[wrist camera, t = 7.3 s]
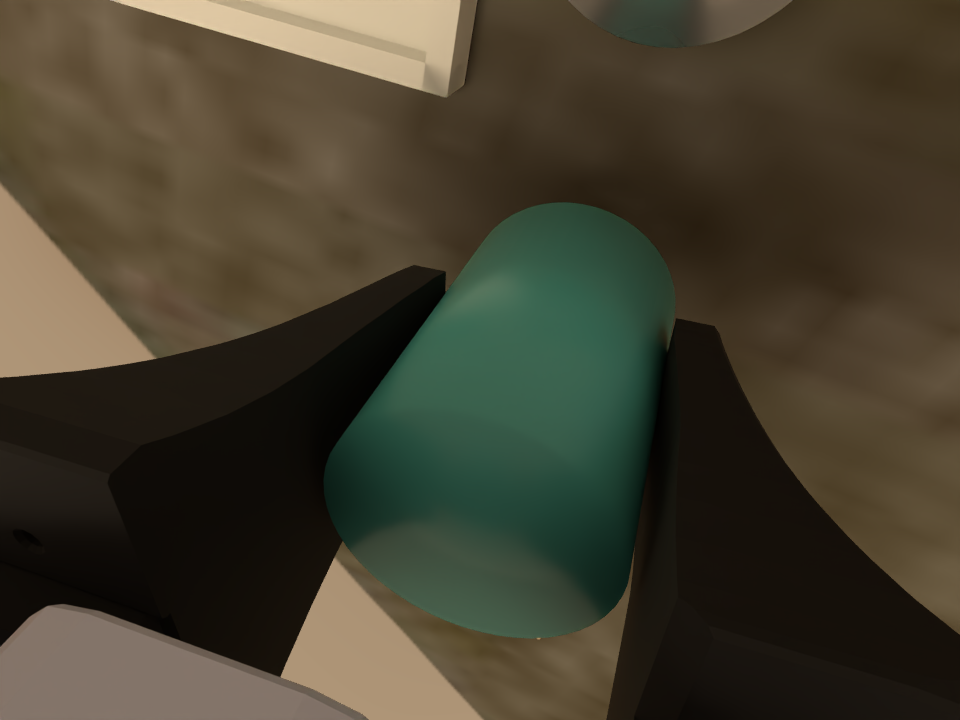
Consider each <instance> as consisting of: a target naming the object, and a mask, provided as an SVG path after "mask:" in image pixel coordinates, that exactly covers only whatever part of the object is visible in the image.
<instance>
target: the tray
mask: <svg viewBox="0 0 960 720" xmlns="http://www.w3.org/2000/svg"><path fill="white" fill-rule="evenodd" d="M111 1H115V2H118V3H121V4H125V5H128V6H132V7H135V8H139V9H142V10H146V11H149V12H153V13H156V14H159V15H163V16H166V17H170V18H173V19H177V20H180V21H184V22H187V23H190V24H194V25H197V26H201V27H204V28H208V29H211V30H215V31H218V32H221V33H225V34H228V35H232V36H235V37H239V38H242V39H246V40H249V41H252V42H256V43H259V44H263V45H266V46H270V47H273V48H277V49H280V50H283V51H287V52H290V53H294V54H297V55H301V56H304V57H308V58H311V59H314V60H318V61H321V62H325V63H328V64H332V65H335V66H339V67H342V68H346V69H349V70H352V71H356V72H359V73H363V74H366V75H370V76H373V77H377V78H380V79H383V80H387V81H390V82H394V83H397V84H401V85H404V86H408V87H411V88H414V89H418V90H421V91H425V92H428V93H432V94H435V95H439V96H442V97H445V98H447V97H449V96H450V95H451V94H453V93H454V92H455V91H457V90H458V89H459V88H461V87H462V86H463V85H464V83H465V76H466V70H467V64H468V57H469V51H470V44H471V38H472V32H473V25H474V19H475V13H476V6H477V0H111Z"/></svg>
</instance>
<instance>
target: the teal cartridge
mask: <svg viewBox="0 0 960 720" xmlns="http://www.w3.org/2000/svg"><path fill="white" fill-rule="evenodd" d="M674 315H675V291H674V285H673V281H672V278H671V274H670V272H669V270H668V267H667V265H666V263H665V261H664V259H663V258H662V256H661V255H660V253H659V251H658V250H657V248H656V247H655V246H654V245H653V244H652V243H651V241H650V240H649V239H648V238H647V237H646V236H645V235H644V234H643V233H642V232H640V231H639V230H638V229H637V228H636V227H634V226H633V225H631V224H630V223H629V222H627V221H626V220H624V219H622V218H620V217H618V216H616V215H615V214H613V213H611V212H608V211H605V210H603V209H600V208H597V207H593V206H589V205H585V204H578V203H569V202H560V203H547V204H540V205H536V206H533V207H529V208H526V209H524V210H522V211H519V212H517V213H515V214H513V215H511V216H510V217H508V218H507V219H505V220H503V221H502V222H501V223H500V224H499V225H497V226H496V227H495V228H494V229H493V230H492V231H491V232H490V233H489V234H488V236H487V237H486V238H485V239H484V241H483V242H482V243H481V245H480V246H479V248H478V249H477V250H476V252H475V253H474V254H473V256H472V257H471V259H470V260H469V261H468V263H467V264H466V265H465V267H464V268H463V270H462V271H461V272H460V274H459V275H458V277H457V278H456V279H455V281H454V282H453V283H452V285H451V286H450V288H449V289H448V290H447V292H446V293H445V294H444V296H443V297H442V299H441V300H440V301H439V303H438V304H437V305H436V307H435V308H434V310H433V311H432V312H431V314H430V315H429V316H428V318H427V319H426V321H425V322H424V323H423V325H422V326H421V328H420V329H419V330H418V332H417V333H416V334H415V336H414V337H413V339H412V340H411V341H410V343H409V344H408V345H407V347H406V348H405V350H404V351H403V352H402V354H401V355H400V356H399V358H398V359H397V361H396V362H395V363H394V365H393V366H392V367H391V369H390V370H389V372H388V373H387V374H386V376H385V377H384V379H383V380H382V381H381V383H380V384H379V385H378V387H377V388H376V390H375V391H374V392H373V394H372V395H371V396H370V398H369V399H368V401H367V402H366V403H365V405H364V406H363V407H362V409H361V410H360V412H359V413H358V414H357V416H356V417H355V418H354V420H353V421H352V423H351V424H350V425H349V427H348V428H347V429H346V431H345V432H344V434H343V435H342V436H341V438H340V439H339V441H338V442H337V443H336V445H335V447H334V448H333V450H332V451H331V453H330V455H329V458H328V461H327V463H326V466H325V472H324V479H323V482H324V496H325V501H326V505H327V509H328V512H329V514H330V517H331V520H332V522H333V524H334V526H335V528H336V530H337V532H338V534H339V535H340V537H341V538H342V540H343V542H344V543H345V545H346V546H347V548H348V549H349V550H350V551H351V552H352V554H353V555H354V556H355V557H356V559H357V560H358V561H359V562H360V563H361V564H362V565H363V566H364V567H365V568H366V569H367V570H368V571H369V572H370V573H371V574H372V575H373V576H374V577H376V578H377V579H378V580H379V581H380V582H381V583H382V584H384V585H385V586H386V587H388V588H389V589H390V590H392V591H393V592H394V593H396V594H397V595H399V596H400V597H402V598H403V599H405V600H407V601H408V602H410V603H411V604H413V605H415V606H417V607H419V608H420V609H422V610H424V611H426V612H428V613H430V614H432V615H434V616H437V617H439V618H441V619H443V620H445V621H448V622H451V623H454V624H456V625H459V626H462V627H465V628H469V629H472V630H476V631H479V632H483V633H488V634H493V635H498V636H506V637H514V638H545V637H554V636H560V635H565V634H569V633H572V632H576V631H579V630H581V629H584V628H586V627H588V626H590V625H593V624H594V623H596V622H597V621H599V620H600V619H602V618H603V617H605V616H606V615H607V614H608V613H609V612H610V611H611V610H612V609H613V608H614V607H615V606H616V605H617V603H618V602H619V600H620V599H621V597H622V596H623V594H624V591H625V589H626V587H627V584H628V580H629V574H630V569H631V563H632V557H633V552H634V546H635V540H636V534H637V529H638V523H639V517H640V511H641V505H642V500H643V494H644V488H645V482H646V477H647V471H648V465H649V459H650V454H651V448H652V442H653V436H654V430H655V425H656V419H657V413H658V407H659V402H660V394H661V386H662V380H663V375H664V369H665V363H666V358H667V352H668V349H669V344H670V338H671V332H672V326H673V321H674Z"/></svg>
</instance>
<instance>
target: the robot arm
mask: <svg viewBox="0 0 960 720" xmlns="http://www.w3.org/2000/svg"><path fill="white" fill-rule="evenodd" d="M445 280H446V272H445V271H440V270H435V269H430V268H426V267H421V266H416V265H413V266H411V267H408V268H405V269H403V270H400V271H398V272H396V273H394V274H392V275H389V276H387V277H385V278H383V279H381V280H379V281H377V282H375V283H373V284H370V285H368V286H366V287H364V288H362V289H360V290H358V291H356V292H354V293H351V294H349V295H347V296H345V297H343V298H341V299H339V300H337V301H334V302H332V303H330V304H328V305H325V306H323V307H321V308H318V309H316V310H313V311H311V312H309V313H306V314H304V315H301V316H299V317H297V318H294V319H292V320H289V321H287V322H285V323H282V324H279V325H277V326H274V327H271V328H268V329H266V330H263V331H260V332H257V333H254V334H251V335H247V336H244V337H241V338H238V339H235V340H231V341H228V342H225V343H221V344H218V345H214V346H209V347H205V348H201V349H197V350H193V351H188V352H184V353H180V354H176V355H172V356H167V357H163V358H158V359H153V360H147V361H142V362H136V363H131V364H125V365H118V366H112V367H104V368H98V369H90V370H82V371H74V372H63V373H52V374H41V375H30V376H19V377H4V378H0V720H368V719H367V718H366V717H365V716H364V715H363V714H361V713H359V712H357V711H355V710H353V709H351V708H349V707H347V706H345V705H343V704H341V703H339V702H337V701H335V700H333V699H331V698H329V697H327V696H325V695H323V694H321V693H319V692H317V691H315V690H313V689H310V688H308V687H305V686H302V685H300V684H297V683H294V682H291V681H289V680H286V679H283V678H281V677H280V676H281V674H282V672H283V669H284V667H285V664H286V662H287V660H288V657H289V655H290V653H291V651H292V648H293V646H294V644H295V642H296V639H297V637H298V635H299V632H300V630H301V628H302V626H303V624H304V621H305V619H306V617H307V614H308V612H309V610H310V608H311V605H312V603H313V601H314V599H315V597H316V595H317V593H318V591H319V589H320V586H321V584H322V582H323V580H324V578H325V576H326V574H327V572H328V570H329V567H330V565H331V563H332V561H333V559H334V557H335V555H336V553H337V551H338V549H339V547H340V545H341V543H342V541H343V540H342V538H341V537H340V535H339V534H338V532H337V530H336V528H335V526H334V524H333V522H332V520H331V517H330V514H329V512H328V509H327V505H326V501H325V496H324V482H323V479H324V472H325V466H326V463H327V461H328V458H329V455H330V453H331V451H332V450H333V448H334V447H335V445H336V443H337V442H338V441H339V439H340V438H341V436H342V435H343V434H344V432H345V431H346V429H347V428H348V427H349V425H350V424H351V423H352V421H353V420H354V418H355V417H356V416H357V414H358V413H359V412H360V410H361V409H362V407H363V406H364V405H365V403H366V402H367V401H368V399H369V398H370V396H371V395H372V394H373V392H374V391H375V390H376V388H377V387H378V385H379V384H380V383H381V381H382V380H383V379H384V377H385V376H386V374H387V373H388V372H389V370H390V369H391V367H392V366H393V365H394V363H395V362H396V361H397V359H398V358H399V356H400V355H401V354H402V352H403V351H404V350H405V348H406V347H407V345H408V344H409V343H410V341H411V340H412V339H413V337H414V336H415V334H416V333H417V332H418V330H419V329H420V328H421V326H422V325H423V323H424V322H425V321H426V319H427V318H428V316H429V315H430V314H431V312H432V311H433V310H434V308H435V307H436V305H437V304H438V303H439V301H440V300H441V299H442V297H443V296H444V294H445ZM607 720H960V635H959V634H958V633H957V632H955V631H954V630H953V629H952V628H950V627H949V626H948V625H947V624H945V623H944V622H943V621H942V620H940V619H939V618H938V617H937V616H935V615H934V614H933V613H932V612H930V611H929V610H928V609H927V608H925V607H924V606H923V605H922V604H920V603H919V602H918V601H917V600H915V599H914V598H913V597H912V596H911V595H910V594H908V593H907V592H906V591H905V590H904V589H903V588H902V587H901V586H900V585H899V584H897V583H896V582H895V581H894V580H893V579H892V578H891V577H890V576H889V575H888V574H886V573H885V572H884V571H883V570H882V569H881V568H880V567H879V566H878V565H877V564H875V563H874V562H873V561H872V560H871V559H870V558H869V557H868V556H867V555H866V554H865V553H864V552H863V551H862V550H861V549H860V548H859V547H858V546H857V545H856V544H855V543H854V542H853V541H852V540H851V539H850V538H849V537H848V536H847V535H846V534H845V533H844V532H843V531H842V529H841V528H840V527H839V526H838V525H837V524H836V523H835V522H834V521H833V520H832V519H831V518H830V516H829V515H828V514H827V513H826V512H825V511H824V510H823V509H822V508H821V507H820V506H819V504H818V503H817V502H816V501H815V500H814V499H813V497H812V496H811V495H810V494H809V493H808V491H807V490H806V489H805V488H804V486H803V485H802V484H801V483H800V481H799V480H798V479H797V477H796V476H795V475H794V473H793V472H792V471H791V469H790V468H789V467H788V466H787V464H786V463H785V461H784V460H783V458H782V457H781V455H780V454H779V452H778V451H777V449H776V448H775V446H774V445H773V443H772V442H771V440H770V438H769V437H768V435H767V433H766V432H765V430H764V429H763V427H762V425H761V424H760V422H759V420H758V418H757V417H756V415H755V413H754V411H753V409H752V407H751V405H750V403H749V402H748V400H747V398H746V396H745V394H744V392H743V390H742V388H741V386H740V384H739V382H738V380H737V378H736V375H735V373H734V371H733V369H732V366H731V364H730V362H729V359H728V357H727V354H726V352H725V349H724V346H723V344H722V341H721V338H720V334H719V332H718V331H717V329H716V328H715V326H711V325H706V324H702V323H697V322H692V321H687V320H682V319H677V318H676V322H675V325H674V329H673V333H672V337H671V341H670V345H669V349H668V352H667V358H666V363H665V369H664V375H663V380H662V386H661V394H660V402H659V407H658V413H657V419H656V425H655V430H654V436H653V442H652V448H651V454H650V459H649V465H648V471H647V477H646V482H645V488H644V494H643V500H642V505H641V511H640V517H639V523H638V529H637V534H636V540H635V552H634V565H633V575H632V583H631V591H630V598H629V603H628V609H627V614H626V620H625V625H624V630H623V636H622V641H621V646H620V652H619V657H618V662H617V667H616V673H615V678H614V683H613V688H612V694H611V699H610V704H609V709H608V715H607Z"/></svg>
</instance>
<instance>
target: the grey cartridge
mask: <svg viewBox="0 0 960 720" xmlns="http://www.w3.org/2000/svg"><path fill="white" fill-rule="evenodd" d="M568 1H569V2H570V3H571V4H572V5H573V6H574V7H575V8H576V9H577V10H578V11H579V12H580V13H581V14H582V15H584V16H585V17H586V18H587V19H589V20H590V21H592V22H593V23H594V24H596V25H597V26H599V27H600V28H602V29H604V30H606V31H608V32H610V33H611V34H613V35H615V36H617V37H620V38H623V39H626V40H629V41H631V42H634V43H638V44H643V45H648V46H654V47H668V48H681V47H692V46H699V45H704V44H708V43H713V42H717V41H720V40H723V39H726V38H729V37H732V36H734V35H737V34H740V33H742V32H744V31H746V30H748V29H750V28H752V27H754V26H756V25H758V24H760V23H761V22H763V21H765V20H766V19H768V18H769V17H771V16H772V15H774V14H775V13H777V12H778V11H780V10H781V9H783V8H784V7H785V6H786V5H788V4H789V3H790V2H791V1H792V0H568Z"/></svg>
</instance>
